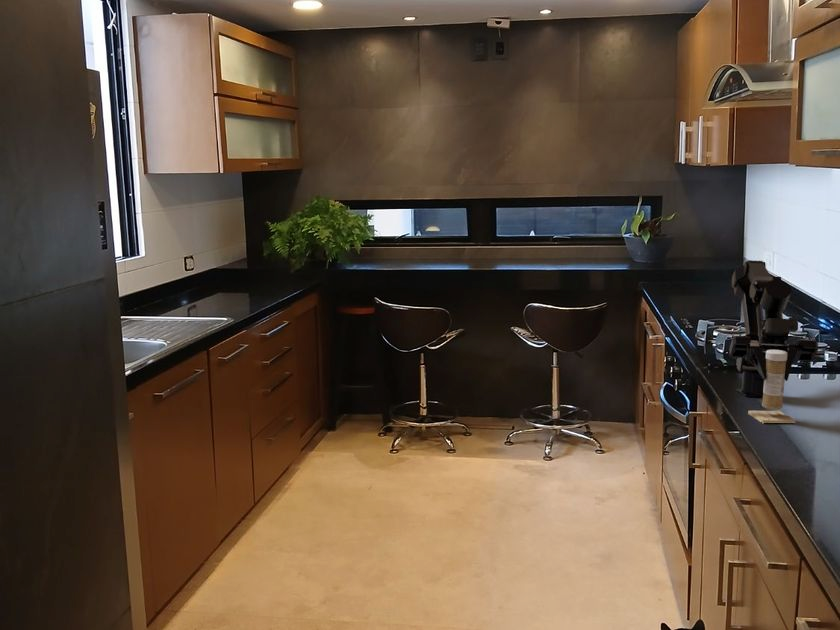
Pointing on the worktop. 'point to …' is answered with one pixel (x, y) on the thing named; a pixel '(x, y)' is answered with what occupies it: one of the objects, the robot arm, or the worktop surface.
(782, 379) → the sprinkles bottle
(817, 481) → the worktop surface
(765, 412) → the trivet
